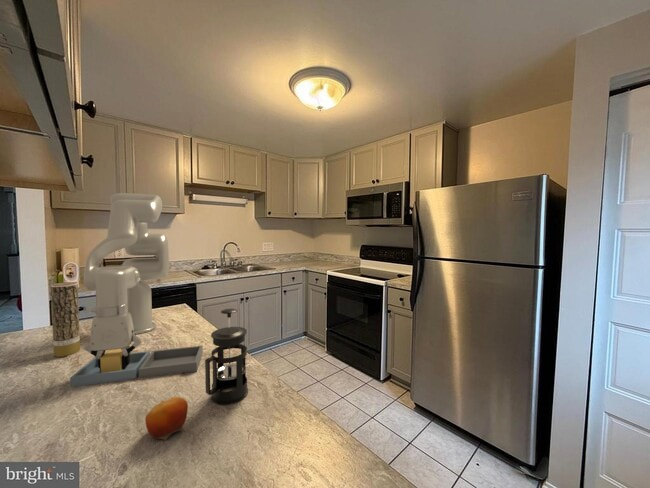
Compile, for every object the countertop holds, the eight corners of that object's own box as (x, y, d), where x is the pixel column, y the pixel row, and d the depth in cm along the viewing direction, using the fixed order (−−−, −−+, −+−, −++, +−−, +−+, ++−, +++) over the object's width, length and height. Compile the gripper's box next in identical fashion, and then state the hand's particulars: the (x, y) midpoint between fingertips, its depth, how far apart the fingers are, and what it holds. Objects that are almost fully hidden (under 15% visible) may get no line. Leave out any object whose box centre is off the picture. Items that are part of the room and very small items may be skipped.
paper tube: (85, 349, 100) (82, 282, 99) (65, 358, 93) (63, 285, 92) (68, 348, 101) (65, 281, 100) (48, 357, 94) (45, 285, 93)
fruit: (163, 447, 54) (151, 406, 55) (146, 452, 57) (136, 413, 59) (201, 423, 60) (189, 387, 62) (183, 429, 64) (173, 395, 66)
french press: (236, 379, 81) (236, 302, 80) (257, 391, 75) (256, 308, 74) (197, 399, 71) (196, 312, 70) (217, 413, 66) (216, 319, 65)
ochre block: (108, 366, 86) (108, 350, 86) (127, 364, 88) (126, 348, 87) (101, 374, 81) (100, 358, 81) (120, 372, 83) (120, 356, 83)
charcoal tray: (152, 359, 93) (152, 350, 93) (202, 353, 97) (202, 345, 97) (138, 379, 81) (138, 369, 80) (196, 371, 85) (196, 362, 85)
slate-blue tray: (94, 366, 88) (94, 356, 88) (150, 359, 93) (149, 351, 93) (70, 388, 76) (70, 377, 76) (135, 379, 80) (135, 369, 80)
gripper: (71, 316, 77) (73, 378, 79) (140, 311, 82) (142, 370, 83) (85, 309, 85) (87, 366, 86) (148, 305, 90) (149, 359, 91)
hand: (114, 367), depth 85 cm, fingers closed on ochre block, 5 cm apart
